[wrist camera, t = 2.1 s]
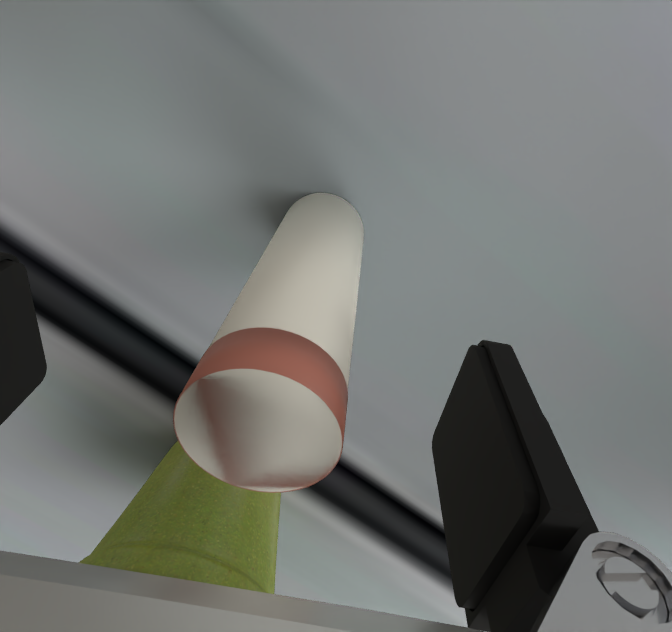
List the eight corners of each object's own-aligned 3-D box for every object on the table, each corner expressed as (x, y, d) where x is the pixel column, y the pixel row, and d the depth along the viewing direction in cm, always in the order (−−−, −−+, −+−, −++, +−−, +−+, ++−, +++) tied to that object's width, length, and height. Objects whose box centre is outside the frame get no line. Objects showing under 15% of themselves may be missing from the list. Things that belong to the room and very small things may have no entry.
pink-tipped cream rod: (372, 201, 16) (358, 387, 7) (355, 278, 17) (327, 505, 9) (286, 184, 16) (171, 351, 7) (277, 262, 17) (174, 475, 9)
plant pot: (148, 376, 21) (19, 558, 14) (338, 437, 22) (315, 638, 14) (130, 495, 26) (27, 677, 18) (286, 541, 27) (249, 732, 19)
